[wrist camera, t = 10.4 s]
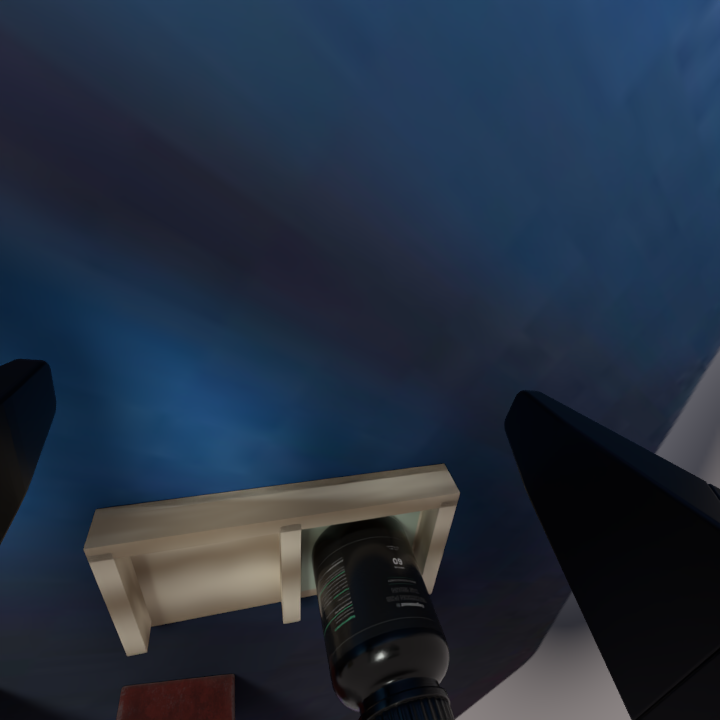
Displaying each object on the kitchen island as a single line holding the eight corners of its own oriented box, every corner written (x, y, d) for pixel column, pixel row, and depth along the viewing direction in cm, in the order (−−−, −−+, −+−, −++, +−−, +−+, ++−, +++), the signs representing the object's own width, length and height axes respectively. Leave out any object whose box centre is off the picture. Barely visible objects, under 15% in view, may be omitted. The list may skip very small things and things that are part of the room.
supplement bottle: (421, 524, 32) (504, 720, 23) (362, 578, 34) (415, 780, 25) (351, 497, 29) (413, 716, 19) (290, 559, 31) (317, 786, 21)
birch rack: (418, 567, 37) (430, 597, 35) (135, 621, 32) (129, 660, 30) (444, 463, 31) (460, 492, 28) (95, 509, 25) (83, 549, 23)
